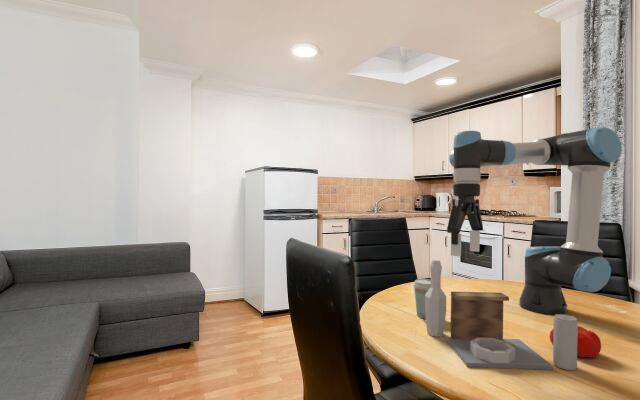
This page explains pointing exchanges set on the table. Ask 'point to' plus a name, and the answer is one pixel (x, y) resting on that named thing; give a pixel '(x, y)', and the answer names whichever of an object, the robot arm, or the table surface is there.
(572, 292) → the table surface
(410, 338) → the table surface
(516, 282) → the table surface
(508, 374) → the table surface
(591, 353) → the tomato
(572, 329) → the beverage can
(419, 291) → the coffee cup
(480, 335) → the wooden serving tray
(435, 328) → the low poly bottle
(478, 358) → the socket board
